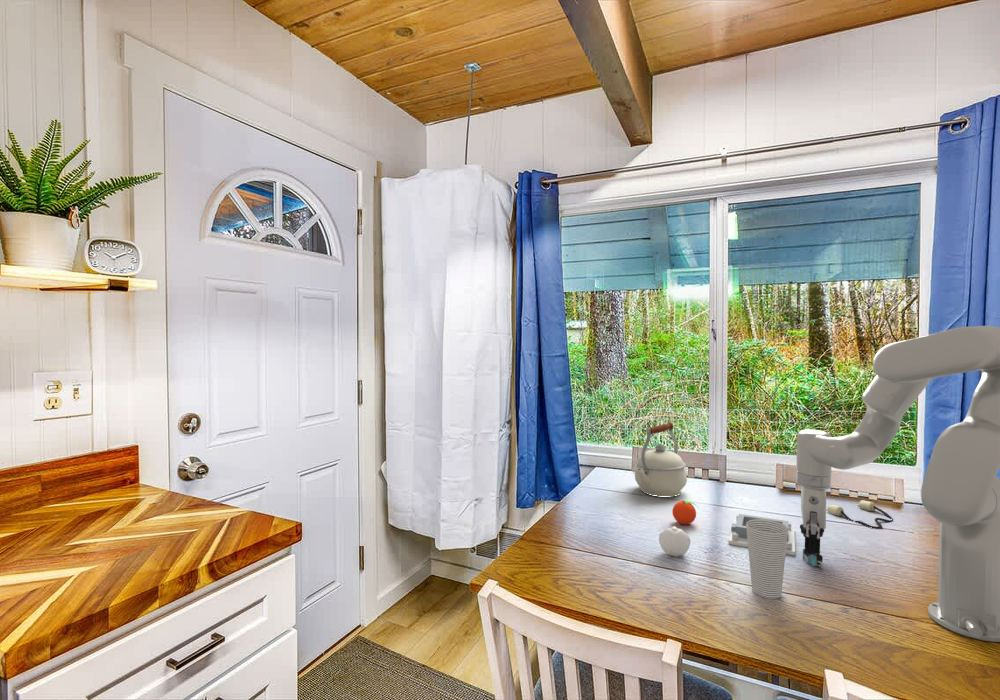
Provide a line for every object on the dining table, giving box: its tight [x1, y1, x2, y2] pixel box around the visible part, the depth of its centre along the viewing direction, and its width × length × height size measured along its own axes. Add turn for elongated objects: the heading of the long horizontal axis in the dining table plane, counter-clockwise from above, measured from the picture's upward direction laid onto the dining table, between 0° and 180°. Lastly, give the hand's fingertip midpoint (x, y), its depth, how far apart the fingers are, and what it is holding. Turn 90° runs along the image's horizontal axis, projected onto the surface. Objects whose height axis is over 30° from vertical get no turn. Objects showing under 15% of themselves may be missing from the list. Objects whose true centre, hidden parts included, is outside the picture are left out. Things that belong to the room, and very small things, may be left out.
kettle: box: [634, 422, 688, 496], centre depth 185 cm, size 25×18×25 cm
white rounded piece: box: [658, 525, 691, 558], centre depth 134 cm, size 8×8×8 cm
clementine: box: [672, 500, 699, 525], centre depth 156 cm, size 8×7×7 cm
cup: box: [746, 519, 788, 600], centre depth 115 cm, size 8×8×16 cm
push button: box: [799, 523, 825, 569], centre depth 128 cm, size 7×5×10 cm
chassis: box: [728, 513, 796, 556], centre depth 144 cm, size 18×16×4 cm
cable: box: [826, 499, 894, 529], centre depth 158 cm, size 16×16×4 cm
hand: (811, 544), depth 129 cm, fingers open, 9 cm apart
